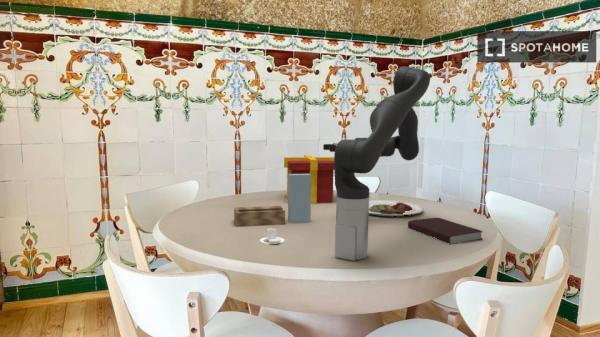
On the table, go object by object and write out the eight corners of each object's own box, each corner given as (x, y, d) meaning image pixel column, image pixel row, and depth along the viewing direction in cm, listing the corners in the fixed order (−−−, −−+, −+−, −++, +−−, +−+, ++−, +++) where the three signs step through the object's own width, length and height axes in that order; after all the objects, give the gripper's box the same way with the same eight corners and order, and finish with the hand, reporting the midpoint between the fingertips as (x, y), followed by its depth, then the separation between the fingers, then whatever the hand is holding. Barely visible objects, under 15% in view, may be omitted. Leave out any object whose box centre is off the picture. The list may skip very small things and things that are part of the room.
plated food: (337, 208, 190) (337, 201, 190) (384, 201, 208) (385, 194, 208) (390, 222, 166) (390, 214, 166) (438, 212, 184) (438, 204, 184)
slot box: (280, 218, 170) (280, 205, 170) (285, 224, 161) (285, 210, 161) (234, 220, 166) (234, 207, 166) (236, 226, 158) (235, 212, 157)
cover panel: (308, 220, 168) (309, 173, 166) (310, 221, 165) (311, 174, 163) (288, 220, 167) (288, 174, 164) (289, 222, 163) (290, 175, 161)
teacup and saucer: (281, 246, 135) (281, 234, 134) (256, 245, 136) (256, 232, 136) (286, 239, 144) (286, 227, 143) (263, 237, 145) (263, 225, 144)
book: (449, 246, 138) (449, 234, 137) (407, 229, 158) (407, 219, 157) (482, 241, 143) (483, 230, 143) (438, 225, 163) (438, 216, 163)
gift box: (282, 194, 221) (282, 155, 219) (330, 194, 224) (331, 154, 221) (286, 205, 196) (286, 160, 194) (340, 204, 199) (341, 159, 197)
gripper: (361, 136, 173) (321, 136, 170) (374, 138, 159) (332, 138, 156) (360, 155, 174) (321, 156, 171) (374, 159, 160) (331, 159, 157)
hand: (326, 147), depth 163 cm, fingers open, 8 cm apart
